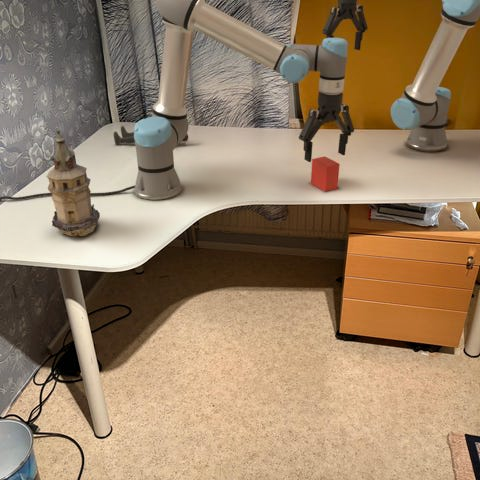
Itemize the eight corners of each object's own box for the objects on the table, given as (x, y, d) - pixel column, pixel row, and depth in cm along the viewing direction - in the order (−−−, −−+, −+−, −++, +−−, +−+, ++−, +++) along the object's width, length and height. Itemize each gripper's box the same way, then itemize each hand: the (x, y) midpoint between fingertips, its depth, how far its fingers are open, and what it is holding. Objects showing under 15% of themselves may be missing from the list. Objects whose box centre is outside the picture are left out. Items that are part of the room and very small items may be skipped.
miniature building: (80, 214, 164) (63, 117, 149) (111, 225, 157) (96, 125, 142) (44, 231, 154) (22, 130, 140) (75, 244, 147) (55, 139, 133)
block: (325, 191, 176) (326, 166, 172) (310, 183, 182) (312, 158, 178) (337, 188, 178) (339, 163, 174) (323, 180, 184) (324, 156, 180)
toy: (129, 119, 231) (196, 119, 225) (131, 133, 234) (197, 134, 228) (104, 139, 209) (177, 139, 203) (107, 154, 212) (179, 155, 206)
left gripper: (304, 99, 157) (299, 167, 167) (370, 90, 167) (362, 154, 178) (290, 93, 162) (286, 159, 173) (354, 84, 173) (347, 147, 183)
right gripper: (327, -5, 193) (323, 56, 204) (380, -9, 204) (374, 49, 214) (315, -7, 199) (312, 53, 209) (367, -11, 209) (362, 46, 220)
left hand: (324, 157), depth 175 cm, fingers open, 13 cm apart
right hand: (343, 51), depth 212 cm, fingers open, 13 cm apart
